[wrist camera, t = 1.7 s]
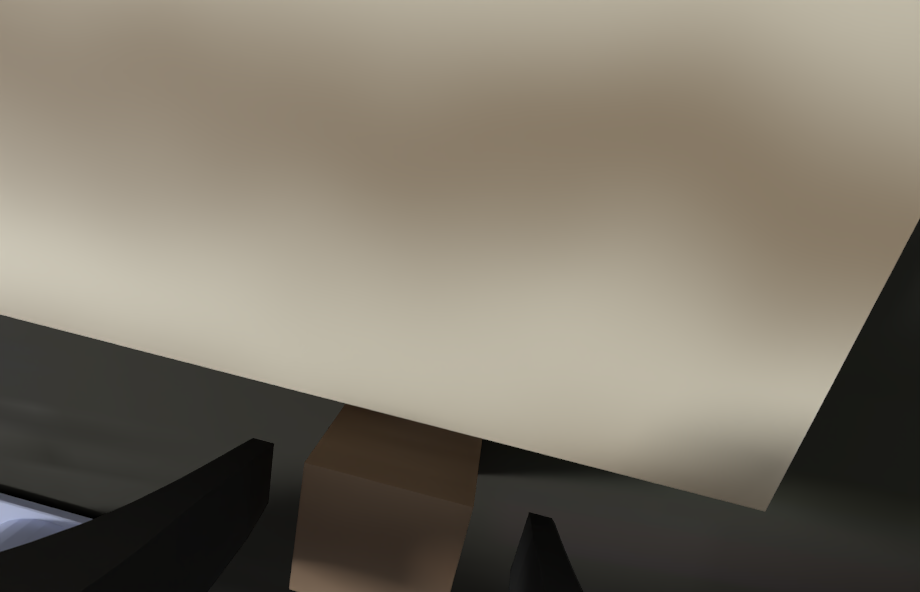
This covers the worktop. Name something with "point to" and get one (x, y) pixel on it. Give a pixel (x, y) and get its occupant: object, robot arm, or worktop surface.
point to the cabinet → (476, 207)
